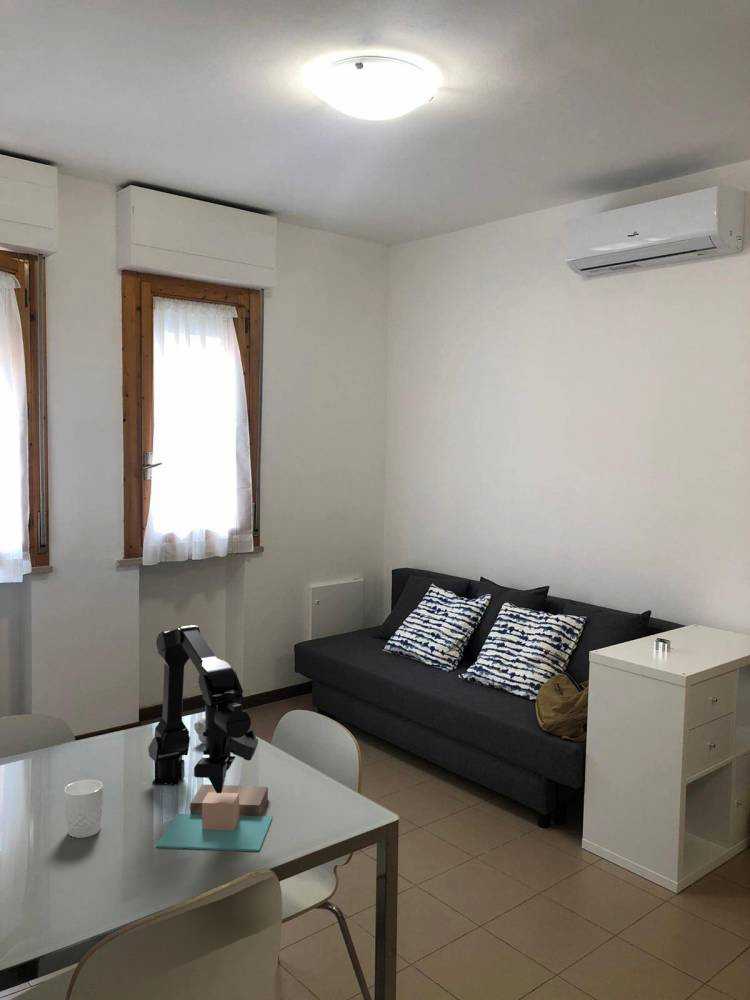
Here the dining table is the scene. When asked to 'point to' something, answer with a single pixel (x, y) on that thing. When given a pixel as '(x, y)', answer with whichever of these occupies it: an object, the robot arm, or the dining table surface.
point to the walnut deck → (249, 798)
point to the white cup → (84, 807)
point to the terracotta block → (220, 811)
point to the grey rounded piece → (200, 730)
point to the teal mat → (215, 834)
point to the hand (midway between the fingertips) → (219, 792)
